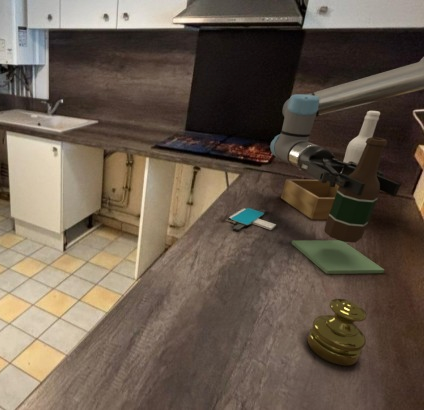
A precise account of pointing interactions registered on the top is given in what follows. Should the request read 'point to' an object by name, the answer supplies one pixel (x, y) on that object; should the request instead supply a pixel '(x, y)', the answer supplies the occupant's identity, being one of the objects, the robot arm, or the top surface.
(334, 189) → the open wooden box
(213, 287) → the top surface
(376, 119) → the bottle
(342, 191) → the beer bottle
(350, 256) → the mat
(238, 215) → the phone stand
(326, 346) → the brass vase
